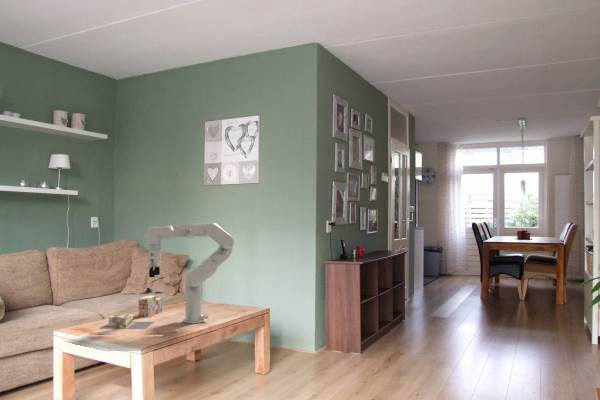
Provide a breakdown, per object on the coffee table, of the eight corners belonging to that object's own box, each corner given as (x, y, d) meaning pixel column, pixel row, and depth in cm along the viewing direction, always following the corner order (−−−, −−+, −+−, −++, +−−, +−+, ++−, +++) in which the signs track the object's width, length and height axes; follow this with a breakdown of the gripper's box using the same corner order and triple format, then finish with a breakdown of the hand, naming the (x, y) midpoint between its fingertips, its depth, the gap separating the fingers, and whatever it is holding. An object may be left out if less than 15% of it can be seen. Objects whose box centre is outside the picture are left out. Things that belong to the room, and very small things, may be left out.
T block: (133, 322, 294) (133, 314, 294) (125, 327, 282) (126, 318, 282) (113, 322, 294) (113, 314, 294) (105, 327, 282) (105, 318, 282)
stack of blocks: (153, 311, 332) (153, 292, 333) (162, 311, 332) (162, 293, 332) (138, 318, 311) (138, 298, 312) (147, 318, 310) (148, 298, 311)
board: (154, 323, 297) (154, 321, 297) (145, 330, 279) (145, 328, 279) (111, 323, 297) (111, 321, 297) (98, 330, 279) (98, 328, 279)
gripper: (156, 248, 288) (156, 278, 288) (164, 246, 305) (164, 274, 305) (143, 248, 288) (143, 278, 288) (152, 246, 305) (152, 274, 305)
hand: (154, 276), depth 296 cm, fingers open, 9 cm apart
